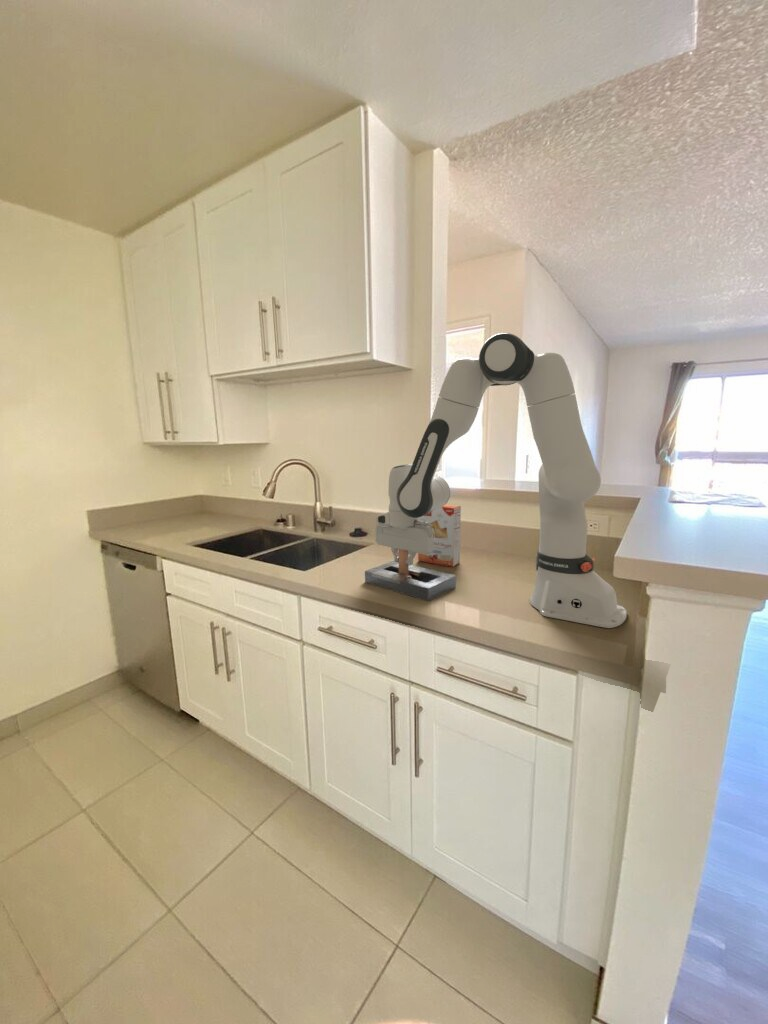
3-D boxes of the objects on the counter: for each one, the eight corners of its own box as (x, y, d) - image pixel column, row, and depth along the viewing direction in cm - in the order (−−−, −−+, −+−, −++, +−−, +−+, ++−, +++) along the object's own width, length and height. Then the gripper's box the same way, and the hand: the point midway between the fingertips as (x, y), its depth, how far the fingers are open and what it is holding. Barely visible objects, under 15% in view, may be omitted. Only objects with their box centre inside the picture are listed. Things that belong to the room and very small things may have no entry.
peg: (415, 579, 127) (415, 544, 125) (404, 583, 123) (404, 547, 121) (402, 575, 130) (402, 541, 128) (392, 579, 127) (391, 545, 125)
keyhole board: (455, 587, 123) (455, 575, 123) (428, 601, 113) (428, 588, 112) (394, 571, 139) (394, 560, 138) (365, 582, 129) (364, 571, 128)
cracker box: (417, 561, 149) (417, 504, 146) (425, 557, 154) (425, 501, 150) (452, 567, 141) (453, 507, 138) (460, 563, 146) (461, 504, 143)
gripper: (438, 521, 119) (438, 567, 122) (385, 513, 132) (385, 555, 135) (425, 524, 114) (425, 572, 117) (371, 516, 128) (372, 559, 130)
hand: (403, 563), depth 126 cm, fingers closed on peg, 3 cm apart
